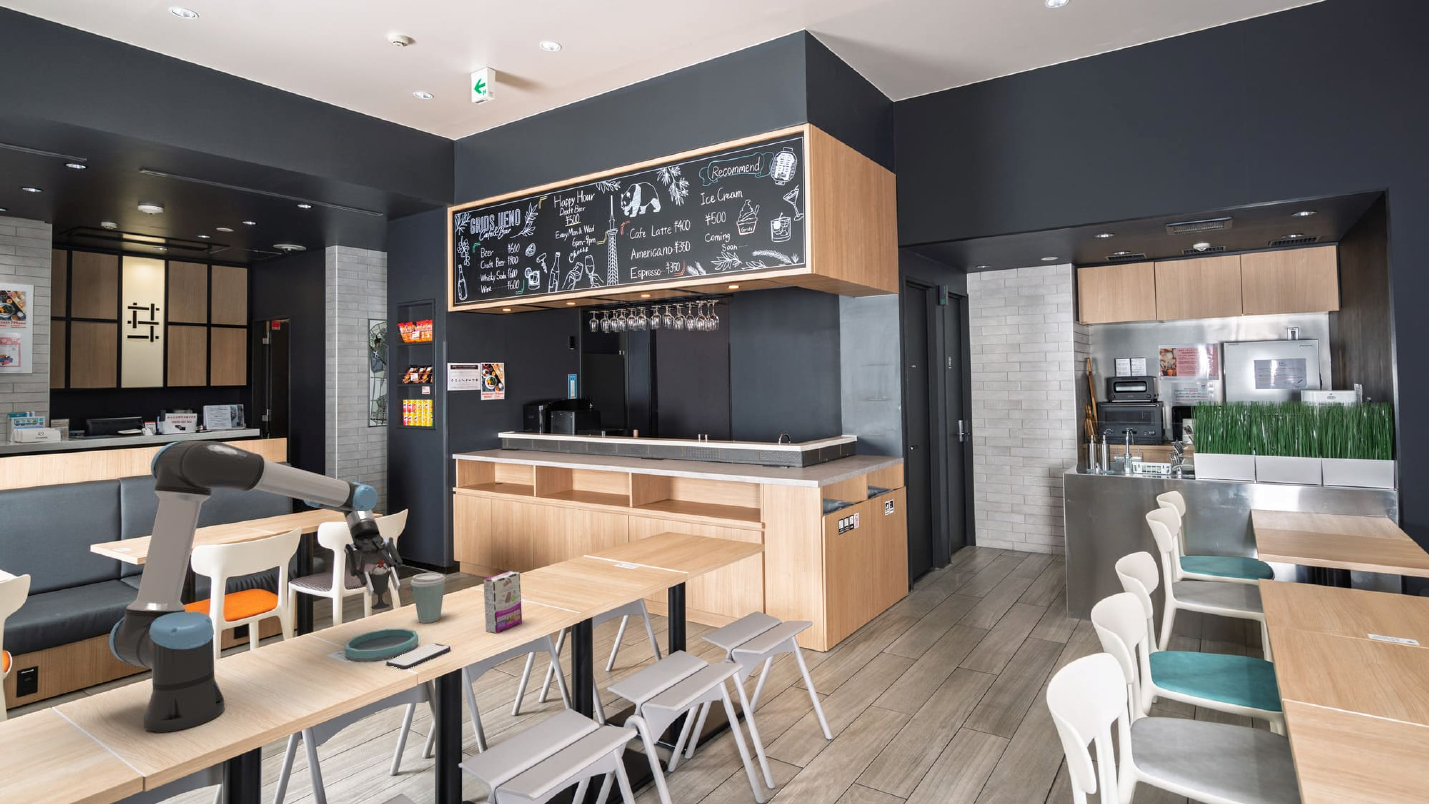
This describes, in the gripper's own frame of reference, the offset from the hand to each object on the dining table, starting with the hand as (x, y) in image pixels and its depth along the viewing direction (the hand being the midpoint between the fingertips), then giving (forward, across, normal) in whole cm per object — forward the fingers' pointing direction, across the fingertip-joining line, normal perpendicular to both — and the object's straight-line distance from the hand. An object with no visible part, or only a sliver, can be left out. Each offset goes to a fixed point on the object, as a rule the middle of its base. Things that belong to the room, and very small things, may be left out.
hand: (384, 590), depth 209 cm
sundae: (+1, 0, -6) cm, 7 cm away
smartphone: (+21, -5, -5) cm, 22 cm away
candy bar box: (+16, -34, -9) cm, 39 cm away
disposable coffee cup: (-2, -21, -27) cm, 34 cm away
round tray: (+10, 0, -15) cm, 18 cm away
